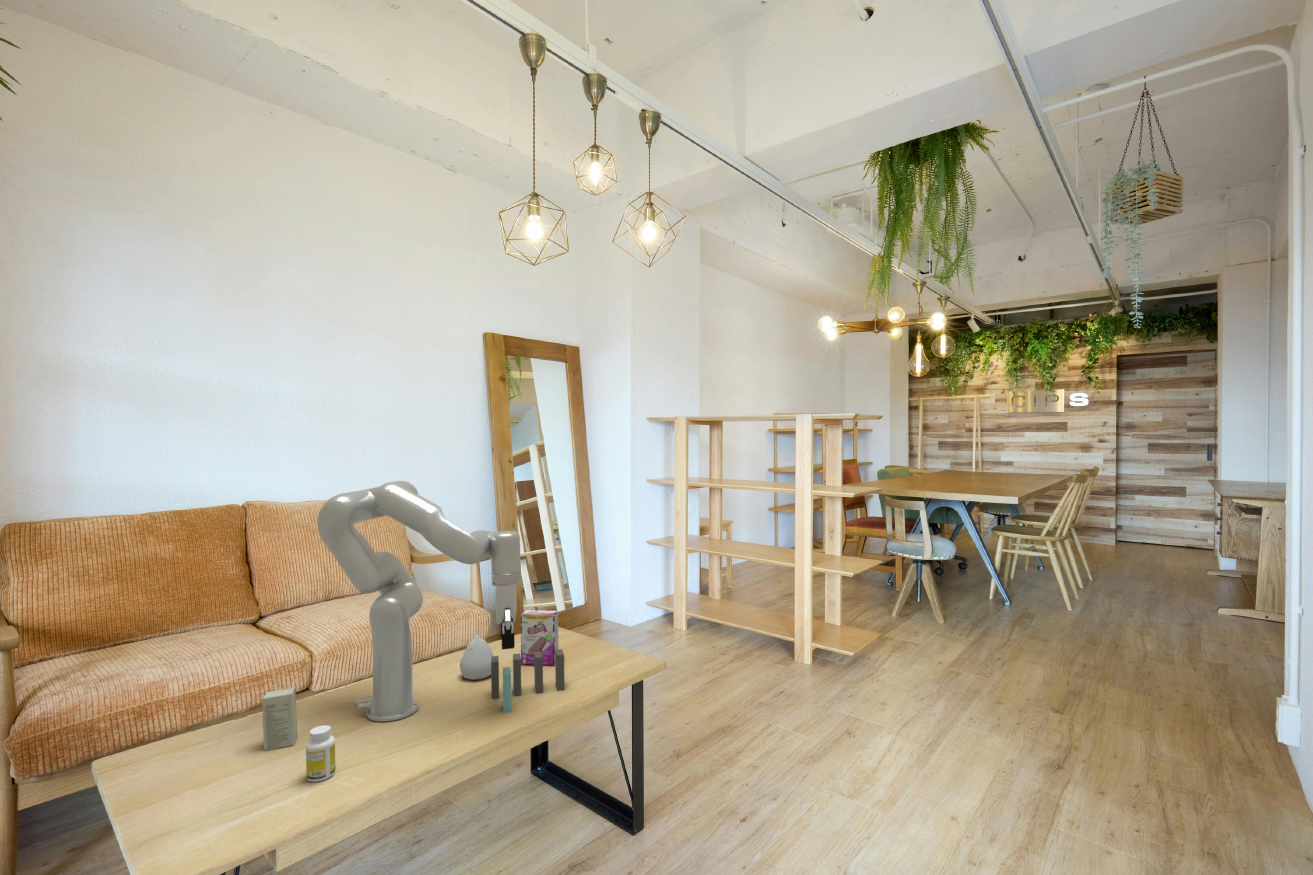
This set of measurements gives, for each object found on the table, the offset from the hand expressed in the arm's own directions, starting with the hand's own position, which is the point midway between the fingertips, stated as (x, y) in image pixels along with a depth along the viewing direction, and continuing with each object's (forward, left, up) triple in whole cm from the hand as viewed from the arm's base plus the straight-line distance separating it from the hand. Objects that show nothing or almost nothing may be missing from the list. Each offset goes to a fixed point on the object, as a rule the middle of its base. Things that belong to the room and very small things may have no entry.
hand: (507, 642), depth 159 cm
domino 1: (-3, +10, -17) cm, 20 cm away
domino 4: (+9, +10, -17) cm, 22 cm away
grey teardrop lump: (-8, +26, -18) cm, 32 cm away
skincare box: (-52, -4, -18) cm, 55 cm away
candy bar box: (+11, +31, -18) cm, 37 cm away
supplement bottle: (-39, -22, -18) cm, 48 cm away
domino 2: (0, 0, -17) cm, 17 cm away
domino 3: (+3, +10, -17) cm, 20 cm away
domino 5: (+15, +10, -17) cm, 25 cm away
